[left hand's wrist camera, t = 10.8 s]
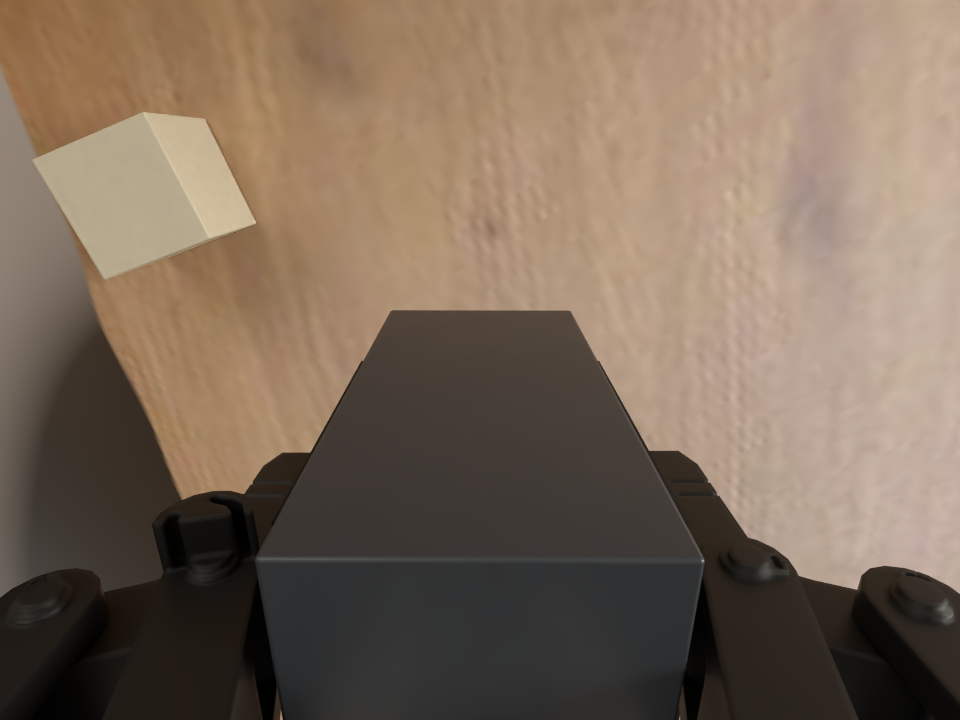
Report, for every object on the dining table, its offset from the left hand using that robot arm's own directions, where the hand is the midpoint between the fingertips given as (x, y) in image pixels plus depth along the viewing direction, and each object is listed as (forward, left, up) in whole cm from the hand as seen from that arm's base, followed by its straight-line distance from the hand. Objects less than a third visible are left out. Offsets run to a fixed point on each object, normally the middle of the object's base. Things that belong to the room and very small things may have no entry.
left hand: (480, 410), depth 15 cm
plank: (+9, 0, 0) cm, 9 cm away
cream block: (-4, -14, -15) cm, 21 cm away
